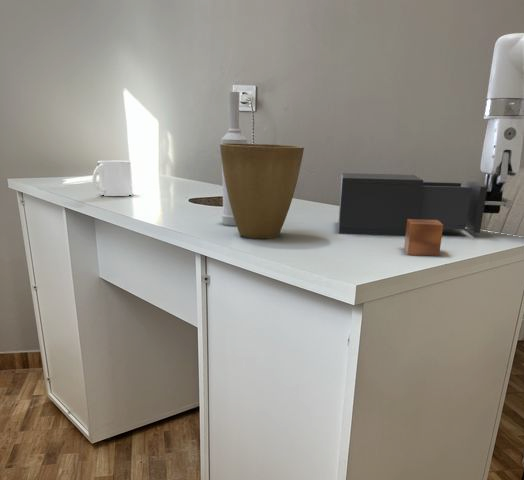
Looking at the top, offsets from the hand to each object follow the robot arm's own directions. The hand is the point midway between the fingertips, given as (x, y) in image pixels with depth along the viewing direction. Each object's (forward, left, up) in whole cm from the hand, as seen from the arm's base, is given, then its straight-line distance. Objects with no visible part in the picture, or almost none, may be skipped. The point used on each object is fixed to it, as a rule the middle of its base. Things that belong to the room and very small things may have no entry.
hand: (489, 212), depth 109 cm
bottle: (+51, 0, -4) cm, 51 cm away
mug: (+94, -43, -4) cm, 103 cm away
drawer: (+7, 0, -3) cm, 7 cm away
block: (+16, +22, -4) cm, 27 cm away
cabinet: (+22, 0, -4) cm, 22 cm away
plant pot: (+44, +12, -4) cm, 46 cm away
